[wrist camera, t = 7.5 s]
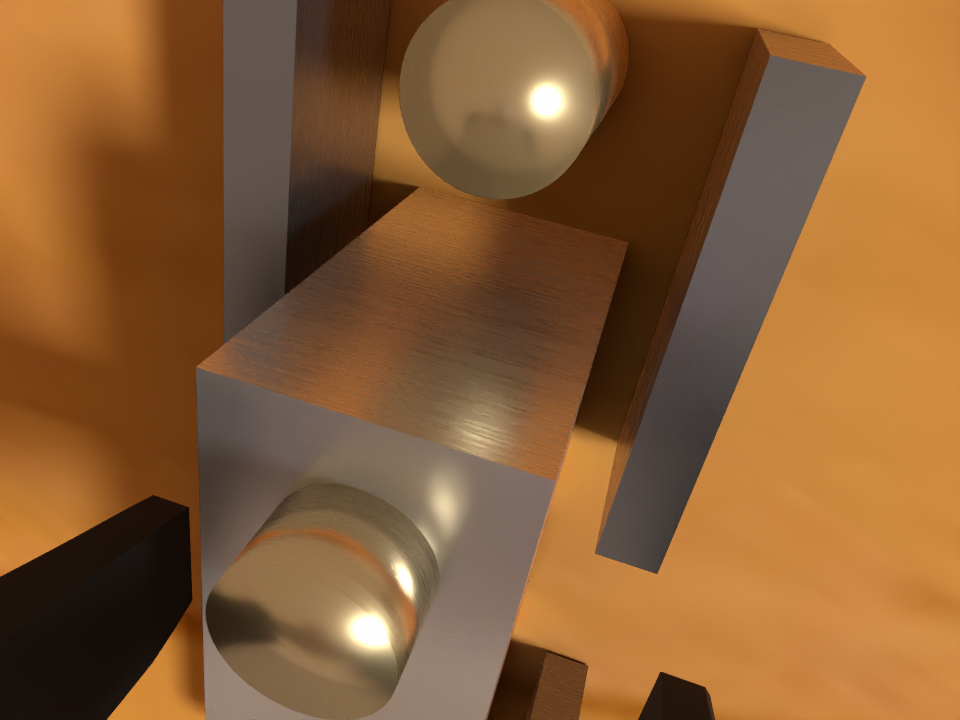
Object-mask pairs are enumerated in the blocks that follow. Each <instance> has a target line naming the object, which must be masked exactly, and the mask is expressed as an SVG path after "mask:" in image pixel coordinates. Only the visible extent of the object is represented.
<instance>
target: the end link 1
mask: <svg viewBox="0 0 960 720" xmlns="http://www.w3.org/2000/svg"><path fill="white" fill-rule="evenodd" d="M390 1H391V0H223V177H224V344H225V343H226V342H228V341H229V340H230V339H231V338H233V337H234V336H235V335H236V334H238V333H239V332H240V331H241V330H243V329H244V328H245V327H246V326H248V325H249V324H250V323H251V322H253V321H254V320H255V319H256V318H257V317H259V316H260V315H261V314H262V313H264V312H265V311H266V310H267V309H269V308H270V307H271V306H272V305H274V304H275V303H276V302H277V301H279V300H280V299H281V298H282V297H284V296H285V295H286V294H287V293H289V292H290V291H291V290H292V289H294V288H295V287H296V286H297V285H299V284H300V283H301V282H302V281H303V280H305V279H306V278H307V277H308V276H310V275H311V274H312V273H313V272H315V271H316V270H317V269H318V268H320V267H321V266H322V265H323V264H325V263H326V262H327V261H328V260H330V259H331V258H332V257H333V256H335V255H336V254H337V253H338V252H340V251H341V250H342V249H343V248H345V247H346V246H347V245H348V244H349V243H351V242H352V241H353V240H354V239H356V238H357V237H358V236H359V235H361V234H362V233H363V232H364V231H366V230H367V226H368V217H369V207H370V197H371V187H372V177H373V167H374V158H375V148H376V138H377V128H378V118H379V109H380V99H381V89H382V79H383V69H384V60H385V50H386V40H387V30H388V20H389V11H390ZM628 65H629V43H628V37H627V33H626V29H625V26H624V23H623V21H622V19H621V17H620V15H619V13H618V11H617V10H616V8H615V7H614V5H613V4H612V3H611V2H610V0H449V1H447V2H445V3H444V4H443V5H441V6H440V7H438V8H437V9H436V10H435V11H434V12H432V13H431V14H430V15H429V16H428V17H427V18H426V19H425V21H424V22H423V23H422V24H421V25H420V27H419V28H418V29H417V31H416V33H415V34H414V36H413V38H412V39H411V41H410V44H409V46H408V48H407V50H406V53H405V56H404V60H403V63H402V67H401V73H400V82H399V99H400V108H401V113H402V118H403V122H404V125H405V128H406V131H407V133H408V136H409V138H410V140H411V142H412V144H413V146H414V148H415V149H416V151H417V153H418V154H419V155H420V157H421V158H422V159H423V161H424V162H425V163H426V165H427V166H428V167H429V168H430V169H431V170H432V171H433V172H434V173H435V174H436V175H438V176H439V177H440V178H441V179H442V180H444V181H445V182H447V183H448V184H450V185H451V186H453V187H455V188H457V189H459V190H461V191H463V192H465V193H468V194H471V195H474V196H477V197H482V198H487V199H513V198H518V197H523V196H526V195H529V194H532V193H535V192H537V191H539V190H541V189H543V188H545V187H547V186H548V185H549V184H551V183H552V182H554V181H555V180H557V179H558V178H559V177H560V176H561V175H562V174H563V173H564V172H565V171H566V170H567V169H568V168H569V167H570V166H571V164H572V163H573V162H574V161H575V159H576V158H577V156H578V155H579V153H580V152H581V150H582V149H583V147H584V146H585V144H586V143H587V141H588V140H589V138H590V137H591V136H592V134H593V133H594V131H595V130H596V128H597V127H598V125H599V124H600V122H601V121H602V119H603V118H604V116H605V115H606V113H607V112H608V110H609V109H610V107H611V106H612V104H613V103H614V101H615V100H616V98H617V97H618V95H619V93H620V91H621V89H622V87H623V84H624V81H625V78H626V75H627V70H628ZM865 78H866V76H865V75H864V74H863V73H862V72H861V71H860V70H858V69H857V68H856V67H855V66H854V65H853V64H852V63H850V62H849V61H848V60H847V59H846V58H845V57H844V56H842V55H841V54H840V53H839V52H838V51H837V50H836V49H834V48H833V47H832V46H831V45H830V44H827V43H823V42H818V41H813V40H809V39H804V38H800V37H795V36H790V35H786V34H781V33H777V32H772V31H768V30H763V29H757V32H756V35H755V38H754V41H753V44H752V47H751V50H750V52H749V55H748V58H747V61H746V64H745V67H744V70H743V73H742V76H741V79H740V82H739V85H738V88H737V91H736V94H735V97H734V100H733V103H732V106H731V109H730V112H729V115H728V118H727V121H726V123H725V126H724V129H723V132H722V135H721V138H720V141H719V144H718V147H717V150H716V153H715V156H714V159H713V162H712V165H711V168H710V171H709V174H708V177H707V180H706V183H705V186H704V189H703V192H702V195H701V197H700V200H699V203H698V206H697V209H696V212H695V215H694V218H693V221H692V224H691V227H690V230H689V233H688V236H687V239H686V242H685V245H684V248H683V251H682V254H681V257H680V260H679V263H678V266H677V268H676V271H675V274H674V277H673V280H672V283H671V286H670V289H669V292H668V295H667V298H666V301H665V304H664V307H663V310H662V313H661V316H660V319H659V322H658V325H657V328H656V331H655V334H654V337H653V339H652V342H651V345H650V348H649V351H648V354H647V357H646V360H645V363H644V366H643V369H642V372H641V375H640V378H639V381H638V384H637V387H636V390H635V393H634V396H633V399H632V402H631V405H630V408H629V411H628V413H627V416H626V419H625V422H624V425H623V428H622V431H621V434H620V437H619V440H618V443H617V448H616V453H615V458H614V462H613V467H612V472H611V477H610V482H609V487H608V492H607V497H606V502H605V507H604V512H603V516H602V521H601V526H600V531H599V536H598V541H597V546H596V551H595V554H598V555H601V556H604V557H607V558H610V559H613V560H616V561H619V562H622V563H625V564H628V565H631V566H634V567H637V568H640V569H643V570H647V571H650V572H653V573H656V574H657V573H658V571H659V569H660V566H661V564H662V561H663V559H664V557H665V554H666V552H667V550H668V547H669V545H670V542H671V540H672V538H673V535H674V533H675V531H676V528H677V526H678V523H679V521H680V519H681V516H682V514H683V512H684V509H685V507H686V504H687V502H688V500H689V497H690V495H691V492H692V490H693V488H694V485H695V483H696V481H697V478H698V476H699V473H700V471H701V469H702V466H703V464H704V462H705V459H706V457H707V454H708V452H709V450H710V447H711V445H712V442H713V440H714V438H715V435H716V433H717V431H718V428H719V426H720V423H721V421H722V419H723V416H724V414H725V412H726V409H727V407H728V404H729V402H730V400H731V397H732V395H733V393H734V390H735V388H736V385H737V383H738V381H739V378H740V376H741V373H742V371H743V369H744V366H745V364H746V362H747V359H748V357H749V354H750V352H751V350H752V347H753V345H754V343H755V340H756V338H757V335H758V333H759V331H760V328H761V326H762V323H763V321H764V319H765V316H766V314H767V312H768V309H769V307H770V304H771V302H772V300H773V297H774V295H775V293H776V290H777V288H778V285H779V283H780V281H781V278H782V276H783V274H784V271H785V269H786V266H787V264H788V262H789V259H790V257H791V254H792V252H793V250H794V247H795V245H796V243H797V240H798V238H799V235H800V233H801V231H802V228H803V226H804V224H805V221H806V219H807V216H808V214H809V212H810V209H811V207H812V204H813V202H814V200H815V197H816V195H817V193H818V190H819V188H820V185H821V183H822V181H823V178H824V176H825V174H826V171H827V169H828V166H829V164H830V162H831V159H832V157H833V154H834V152H835V150H836V147H837V145H838V143H839V140H840V138H841V135H842V133H843V131H844V128H845V126H846V124H847V121H848V119H849V116H850V114H851V112H852V109H853V107H854V105H855V102H856V100H857V97H858V95H859V93H860V90H861V88H862V85H863V83H864V81H865Z"/></svg>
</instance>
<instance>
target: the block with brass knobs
mask: <svg viewBox="0 0 960 720" xmlns="http://www.w3.org/2000/svg"><path fill="white" fill-rule="evenodd" d="M628 243H629V242H626V241H622V240H618V239H614V238H611V237H607V236H603V235H599V234H595V233H592V232H588V231H584V230H580V229H577V228H573V227H569V226H565V225H562V224H558V223H554V222H550V221H547V220H543V219H539V218H535V217H531V216H528V215H524V214H520V213H516V212H513V211H509V210H505V209H501V208H498V207H494V206H490V205H486V204H483V203H479V202H475V201H471V200H468V199H464V198H460V197H456V196H452V195H449V194H445V193H441V192H437V191H434V190H430V189H426V188H422V187H419V188H418V189H417V190H415V191H414V192H413V193H412V194H410V195H409V196H408V197H407V198H405V199H404V200H403V201H402V202H400V203H399V204H398V205H397V206H395V207H394V208H393V209H392V210H391V211H389V212H388V213H387V214H386V215H384V216H383V217H382V218H381V219H379V220H378V221H377V222H376V223H374V224H373V225H372V226H371V227H369V228H368V229H367V230H366V231H364V232H363V233H362V234H361V235H359V236H358V237H357V238H356V239H354V240H353V241H352V242H351V243H349V244H348V245H347V246H346V247H345V248H343V249H342V250H341V251H340V252H338V253H337V254H336V255H335V256H333V257H332V258H331V259H330V260H328V261H327V262H326V263H325V264H323V265H322V266H321V267H320V268H318V269H317V270H316V271H315V272H313V273H312V274H311V275H310V276H308V277H307V278H306V279H305V280H303V281H302V282H301V283H300V284H299V285H297V286H296V287H295V288H294V289H292V290H291V291H290V292H289V293H287V294H286V295H285V296H284V297H282V298H281V299H280V300H279V301H277V302H276V303H275V304H274V305H272V306H271V307H270V308H269V309H267V310H266V311H265V312H264V313H262V314H261V315H260V316H259V317H257V318H256V319H255V320H254V321H253V322H251V323H250V324H249V325H248V326H246V327H245V328H244V329H243V330H241V331H240V332H239V333H238V334H236V335H235V336H234V337H233V338H231V339H230V340H229V341H228V342H226V343H225V344H224V345H223V346H221V347H220V348H219V349H218V350H216V351H215V352H214V353H213V354H211V355H210V356H209V357H208V358H207V359H205V360H204V361H203V362H202V363H200V364H199V365H198V366H197V367H196V389H197V426H198V463H199V501H200V538H201V576H202V613H203V650H204V688H205V720H487V719H488V716H489V712H490V709H491V706H492V702H493V699H494V695H495V692H496V689H497V685H498V682H499V679H500V675H501V672H502V668H503V665H504V662H505V658H506V655H507V652H508V648H509V645H510V641H511V638H512V635H513V631H514V628H515V625H516V621H517V618H518V614H519V611H520V608H521V604H522V601H523V598H524V594H525V591H526V587H527V584H528V581H529V577H530V574H531V571H532V567H533V564H534V560H535V557H536V554H537V550H538V547H539V543H540V540H541V537H542V533H543V530H544V527H545V523H546V520H547V516H548V513H549V510H550V506H551V503H552V500H553V496H554V493H555V489H556V486H557V483H558V479H559V476H560V473H561V469H562V466H563V462H564V459H565V456H566V452H567V449H568V446H569V442H570V439H571V435H572V432H573V429H574V425H575V422H576V419H577V415H578V412H579V408H580V405H581V402H582V398H583V395H584V391H585V388H586V385H587V381H588V378H589V375H590V371H591V368H592V364H593V361H594V358H595V354H596V351H597V348H598V344H599V341H600V337H601V334H602V331H603V327H604V324H605V321H606V317H607V314H608V310H609V307H610V304H611V300H612V297H613V294H614V290H615V287H616V283H617V280H618V277H619V273H620V270H621V267H622V263H623V260H624V256H625V253H626V250H627V246H628Z"/></svg>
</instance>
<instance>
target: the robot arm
mask: <svg viewBox="0 0 960 720" xmlns="http://www.w3.org/2000/svg"><path fill="white" fill-rule="evenodd" d="M191 602H192V580H191V552H190V524H189V507H186V506H183V505H180V504H177V503H174V502H172V501H169V500H166V499H163V498H160V497H157V496H154V495H152V496H151V497H149V498H147V499H145V500H143V501H141V502H139V503H137V504H135V505H133V506H132V507H130V508H128V509H126V510H124V511H122V512H120V513H119V514H117V515H115V516H113V517H111V518H109V519H107V520H106V521H104V522H102V523H100V524H98V525H96V526H95V527H93V528H91V529H89V530H87V531H86V532H84V533H82V534H80V535H78V536H76V537H75V538H73V539H71V540H69V541H67V542H65V543H63V544H62V545H60V546H58V547H56V548H54V549H52V550H51V551H49V552H47V553H45V554H43V555H41V556H39V557H37V558H35V559H33V560H31V561H30V562H28V563H26V564H24V565H22V566H20V567H18V568H16V569H14V570H12V571H10V572H9V573H7V574H5V575H3V576H1V577H0V720H107V718H108V717H109V716H110V715H111V714H112V712H113V711H114V710H115V709H116V707H117V706H118V705H119V704H120V703H121V701H122V700H123V699H124V698H125V696H126V695H127V694H128V693H129V691H130V690H131V689H132V688H133V686H134V685H135V684H136V683H137V681H138V680H139V679H140V678H141V676H142V675H143V674H144V673H145V671H146V670H147V669H148V668H149V666H150V665H151V664H152V662H153V661H154V660H155V658H156V657H157V655H158V654H159V652H160V651H161V649H162V648H163V646H164V644H165V643H166V641H167V640H168V638H169V637H170V635H171V634H172V632H173V631H174V629H175V627H176V626H177V624H178V623H179V621H180V619H181V618H182V616H183V614H184V613H185V611H186V610H187V608H188V606H189V605H190V603H191ZM638 720H715V717H714V712H713V708H712V703H711V697H710V694H709V693H708V691H707V690H706V688H705V687H703V686H700V685H697V684H695V683H692V682H689V681H686V680H683V679H680V678H677V677H674V676H672V675H669V674H666V673H663V672H660V674H659V676H658V678H657V680H656V683H655V685H654V687H653V689H652V691H651V693H650V695H649V697H648V700H647V702H646V704H645V706H644V708H643V710H642V712H641V715H640V717H639V719H638Z"/></svg>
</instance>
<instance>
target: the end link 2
mask: <svg viewBox="0 0 960 720" xmlns="http://www.w3.org/2000/svg"><path fill="white" fill-rule="evenodd" d="M587 670H588V666H586V665H583V664H580V663H578V662H575V661H572V660H569V659H566V658H563V657H561V656H558V655H555V654H552V653H549V652H547V653H546V656H545V659H544V662H543V665H542V668H541V671H540V674H539V677H538V680H537V683H536V686H535V689H534V692H533V695H532V698H531V700H530V703H529V706H528V709H527V712H526V715H525V718H524V720H579V714H580V709H581V703H582V698H583V692H584V687H585V681H586V676H587Z"/></svg>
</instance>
